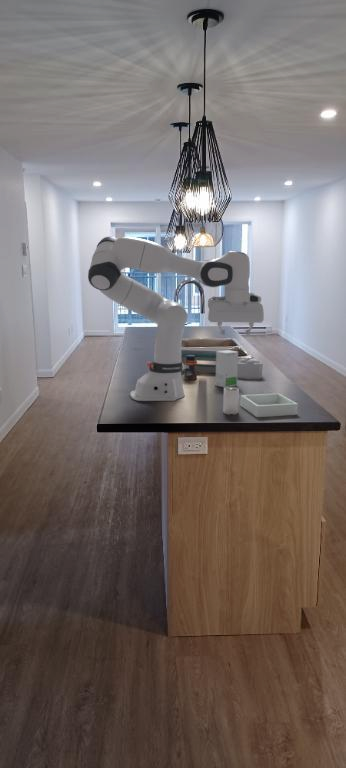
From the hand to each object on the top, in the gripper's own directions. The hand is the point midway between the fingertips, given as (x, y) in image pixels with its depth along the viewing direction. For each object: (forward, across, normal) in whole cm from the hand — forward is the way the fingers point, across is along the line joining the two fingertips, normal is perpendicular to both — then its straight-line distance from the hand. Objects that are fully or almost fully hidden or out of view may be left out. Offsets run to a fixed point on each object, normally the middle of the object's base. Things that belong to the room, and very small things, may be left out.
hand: (235, 334), depth 196 cm
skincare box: (+28, +2, +37) cm, 46 cm away
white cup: (+28, -2, -6) cm, 29 cm away
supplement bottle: (+28, -13, +50) cm, 59 cm away
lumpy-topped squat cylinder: (+28, +15, +56) cm, 65 cm away
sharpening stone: (+28, -5, +69) cm, 75 cm away
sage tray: (+28, +13, -3) cm, 31 cm away
